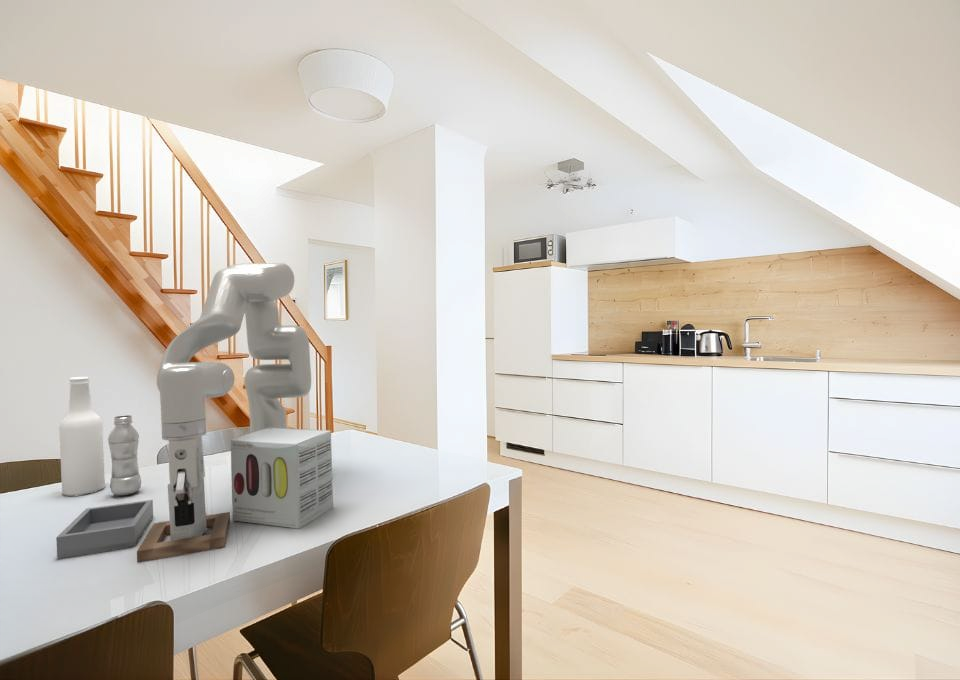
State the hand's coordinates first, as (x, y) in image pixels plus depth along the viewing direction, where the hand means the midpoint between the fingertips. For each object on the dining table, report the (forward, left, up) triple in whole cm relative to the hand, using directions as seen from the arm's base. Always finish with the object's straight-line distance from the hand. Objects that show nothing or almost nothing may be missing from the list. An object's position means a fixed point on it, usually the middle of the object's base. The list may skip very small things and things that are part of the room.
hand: (188, 517), depth 98 cm
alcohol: (+30, -47, -5) cm, 56 cm away
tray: (+15, -9, -4) cm, 18 cm away
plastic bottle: (+19, -39, -5) cm, 43 cm away
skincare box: (0, 0, -5) cm, 5 cm away
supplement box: (-18, -6, -5) cm, 19 cm away
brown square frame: (0, 0, -4) cm, 4 cm away
